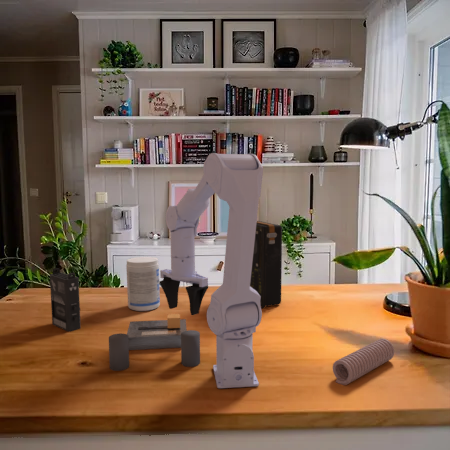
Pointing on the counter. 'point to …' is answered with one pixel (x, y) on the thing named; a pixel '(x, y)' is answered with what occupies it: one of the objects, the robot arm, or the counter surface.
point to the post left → (118, 352)
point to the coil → (362, 361)
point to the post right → (190, 348)
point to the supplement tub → (143, 283)
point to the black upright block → (267, 263)
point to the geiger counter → (65, 300)
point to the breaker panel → (154, 335)
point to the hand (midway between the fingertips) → (183, 310)
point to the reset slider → (173, 320)
